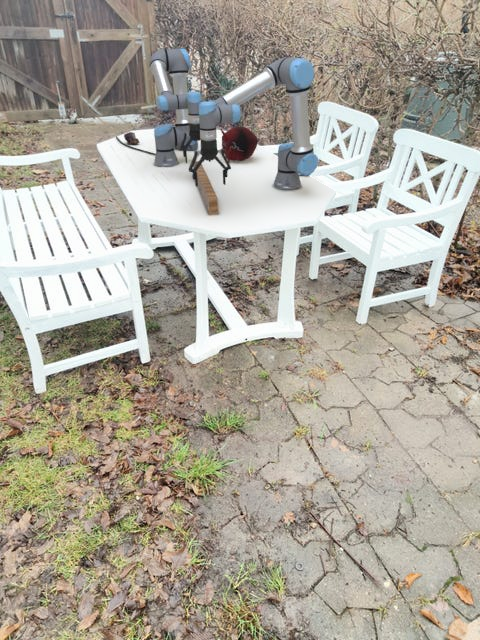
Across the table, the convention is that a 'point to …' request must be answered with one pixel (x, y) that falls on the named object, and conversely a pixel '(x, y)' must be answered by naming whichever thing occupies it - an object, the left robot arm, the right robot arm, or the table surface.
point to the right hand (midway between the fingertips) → (210, 185)
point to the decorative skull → (238, 143)
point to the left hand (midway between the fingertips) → (198, 162)
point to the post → (207, 190)
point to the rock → (131, 138)
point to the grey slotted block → (190, 146)
